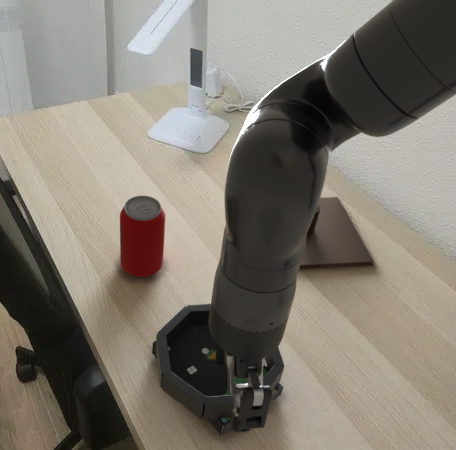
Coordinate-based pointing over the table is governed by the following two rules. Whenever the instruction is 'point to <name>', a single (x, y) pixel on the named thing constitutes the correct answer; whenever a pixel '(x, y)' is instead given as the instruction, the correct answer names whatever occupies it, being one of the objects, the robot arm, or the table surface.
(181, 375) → the disk drive
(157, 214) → the beverage can
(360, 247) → the stand
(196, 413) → the ring
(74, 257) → the table surface
